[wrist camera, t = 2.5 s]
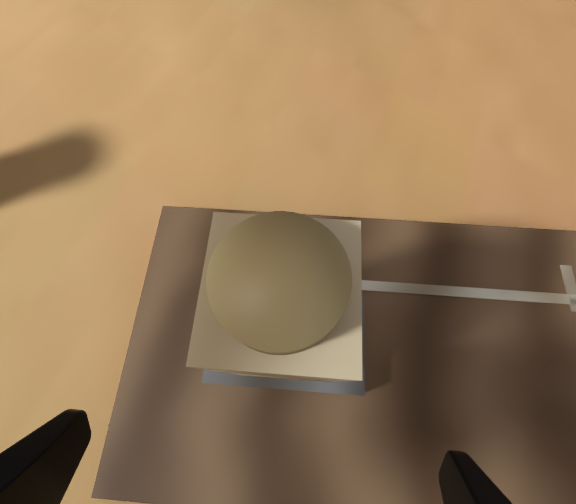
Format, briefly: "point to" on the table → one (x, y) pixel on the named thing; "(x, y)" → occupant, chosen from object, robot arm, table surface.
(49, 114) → the table surface
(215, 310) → the cube with dome top
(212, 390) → the walnut board
